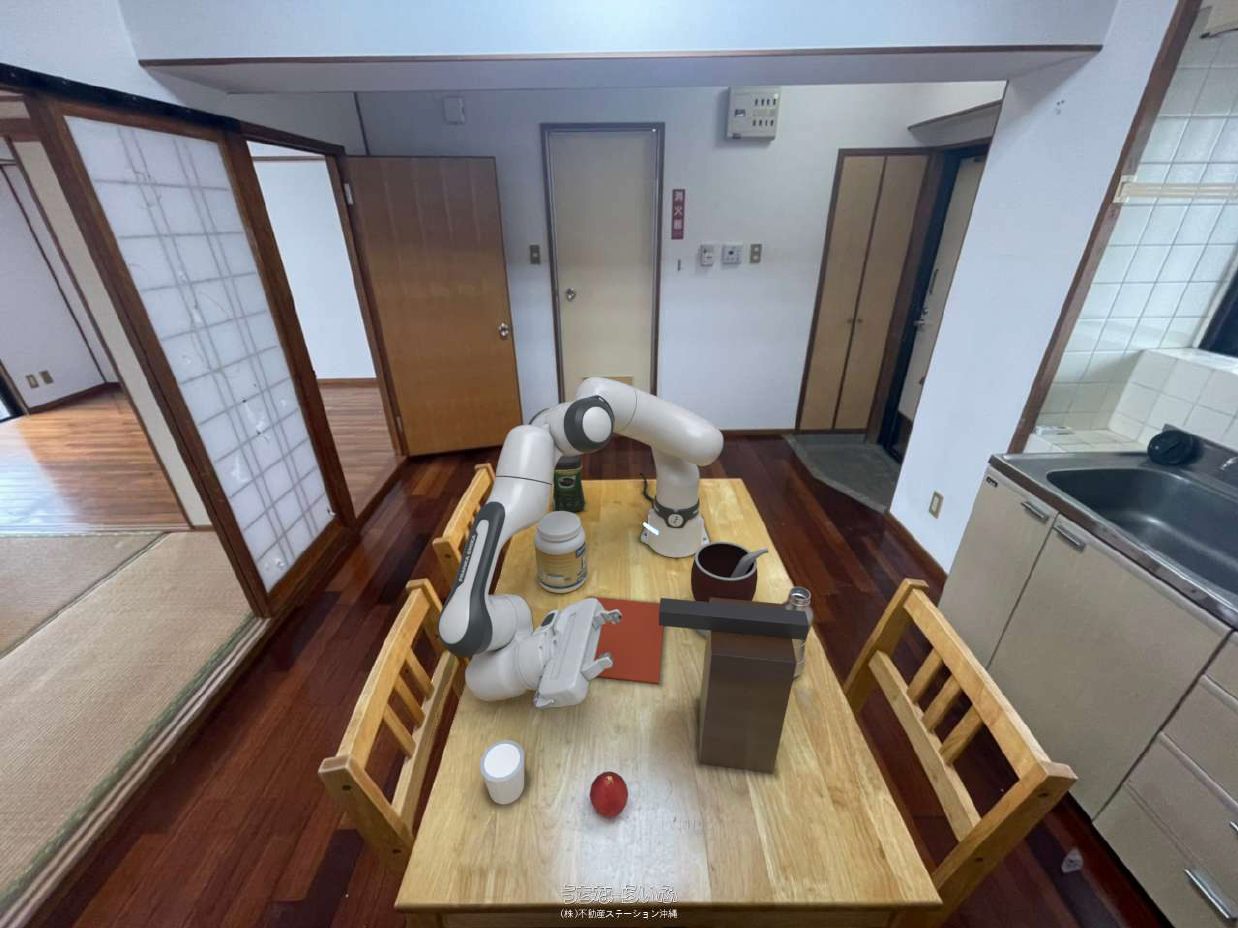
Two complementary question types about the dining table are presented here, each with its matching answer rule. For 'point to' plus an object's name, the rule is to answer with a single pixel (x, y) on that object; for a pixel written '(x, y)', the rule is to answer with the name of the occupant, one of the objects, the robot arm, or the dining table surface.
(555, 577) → the supplement tub
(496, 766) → the white short cylinder
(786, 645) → the tall wooden block
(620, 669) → the baking mat
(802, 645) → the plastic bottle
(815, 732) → the dining table surface
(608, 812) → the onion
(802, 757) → the dining table surface
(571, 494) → the coffee jar
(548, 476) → the robot arm
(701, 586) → the mate gourd
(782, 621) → the handle
